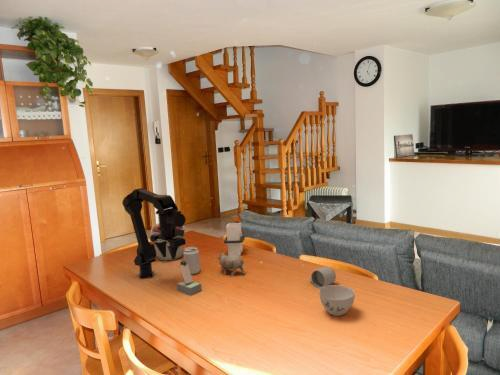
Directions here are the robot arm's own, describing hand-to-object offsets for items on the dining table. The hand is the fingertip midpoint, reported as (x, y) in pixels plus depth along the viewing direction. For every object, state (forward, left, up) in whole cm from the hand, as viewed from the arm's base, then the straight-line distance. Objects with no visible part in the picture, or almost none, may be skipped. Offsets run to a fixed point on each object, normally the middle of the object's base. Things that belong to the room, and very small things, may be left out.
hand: (169, 258), depth 173 cm
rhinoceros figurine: (-6, +27, -12) cm, 31 cm away
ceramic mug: (+22, +63, -12) cm, 67 cm away
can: (-12, +10, -12) cm, 20 cm away
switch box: (+10, +8, -12) cm, 18 cm away
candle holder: (-34, +34, -12) cm, 50 cm away
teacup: (+46, +60, -12) cm, 77 cm away
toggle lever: (+10, +8, -8) cm, 16 cm away
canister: (-39, -1, -12) cm, 41 cm away
